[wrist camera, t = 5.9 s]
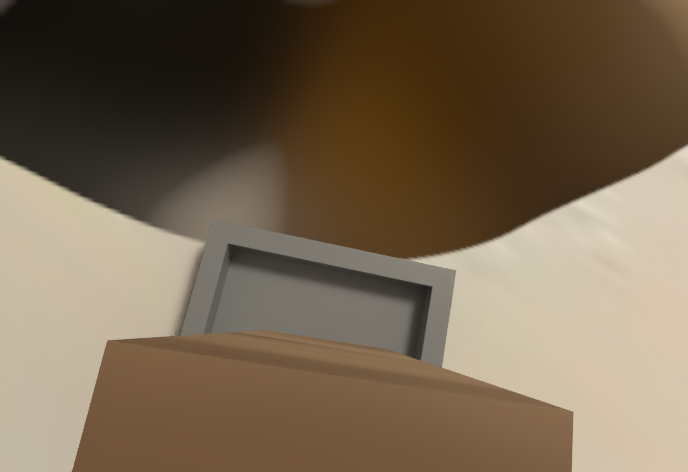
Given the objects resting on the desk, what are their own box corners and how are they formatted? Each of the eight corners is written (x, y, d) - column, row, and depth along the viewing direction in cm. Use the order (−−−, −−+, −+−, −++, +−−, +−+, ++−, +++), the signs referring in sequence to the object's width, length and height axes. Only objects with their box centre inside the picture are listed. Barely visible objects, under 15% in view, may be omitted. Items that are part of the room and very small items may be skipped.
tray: (401, 545, 20) (411, 572, 18) (150, 494, 20) (129, 515, 17) (443, 275, 22) (456, 270, 20) (223, 229, 22) (212, 218, 20)
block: (368, 478, 15) (554, 1059, 3) (241, 460, 15) (-67, 988, 3) (384, 348, 16) (573, 412, 4) (265, 329, 16) (108, 340, 4)
